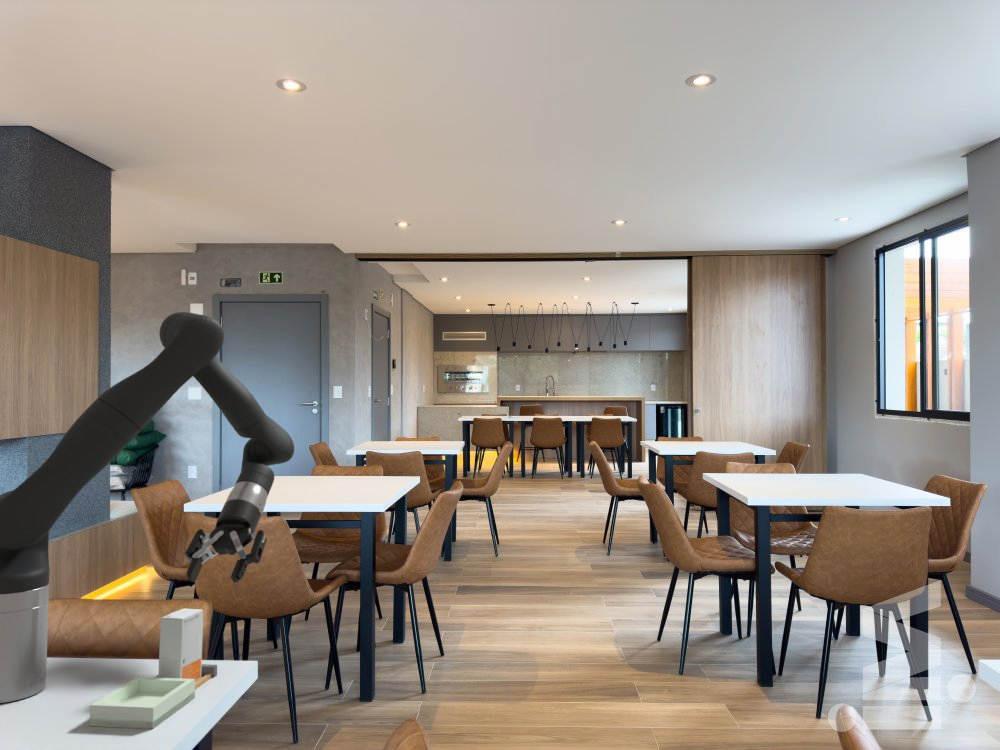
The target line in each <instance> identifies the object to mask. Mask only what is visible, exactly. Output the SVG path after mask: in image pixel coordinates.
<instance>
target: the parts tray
mask: <svg viewBox="0 0 1000 750" xmlns="http://www.w3.org/2000/svg"><path fill="white" fill-rule="evenodd" d="M195 696H196V689H195V679H183V678H156V676H154V677H153V676H136V677H135V678H133V679H132V680H130V681H128V682H127V683H125V684H123V685H121V686H120V687H118V688H116V689H115V690H113V691H112V692H109V693H107V695H105V696H102V697H101V698H99V699H98V700H97V701H95V702H93V703H91V704H90V706H89V708H90V709H89V726H90V727H105V728H107V727H109V728H126V729H128V728H129V729H131V728H132V729H148V730H149V729H151V730H153V729H154V728H156V727H158V726H159V725H160V724H161V722H162V723H163V722H164V721H165V719H166V720H167V719H168V718H170V717H171V716H173V714H175V713H176V712H178V711H180V710H181V709H182V708H183V707H184V706H186V705H187V704H188V703H190V702H191V701H193V700H194V699H195V698H196V697H195ZM169 716H170V717H169ZM158 724H159V725H158Z"/></svg>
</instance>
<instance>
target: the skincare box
mask: <svg viewBox="0 0 1000 750" xmlns="http://www.w3.org/2000/svg"><path fill="white" fill-rule="evenodd" d="M159 623H160V624H159V625H160V626H159V649H158V650H159V651H158V652H159V653H158V654H159V655H158V656H159V657H158V674H157V675H158V678H183V679H195V682H196V681H198V680H199V679H201V678H202V677H201V669H202V664H203V631H204V630H203V629H204V628H203V627H204V625H203V624H204V609H200V608H198V609H197V608H185V607H184V608H181V609H179V610H176V611H173V612H171V613H169V614H166V615H164V616H162V617H160V621H159Z"/></svg>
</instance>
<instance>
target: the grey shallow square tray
mask: <svg viewBox="0 0 1000 750" xmlns="http://www.w3.org/2000/svg"><path fill="white" fill-rule="evenodd" d="M158 675H159V674H157V675H155V677H156V678H158ZM217 676H218V664H207V663H206V664H205V663H204V664H203V663H202V669H201V679H199V680H198V681H196V682H195V690H196V689H197V688H199V687H200V686H202V685H203V684H205V683H206V682H207V681H209V680H210V679H211V678H215V677H217Z"/></svg>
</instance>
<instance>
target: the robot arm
mask: <svg viewBox="0 0 1000 750" xmlns="http://www.w3.org/2000/svg"><path fill="white" fill-rule="evenodd" d="M159 339H160V340H159V341H160V343H161V345H162V347H163V350H161V352H160V353H159V354H158V355H157V356H156V357H155V358H154V359H153V360H152V361H151V362H150V363H148V364H147V365H145V366H144V367H143V368H141V369H140V370H138V371H136V372H134V373H133V374H131V375H129V376H127V377H125V378H124V379H122V380H120V381H119V382H117V383H116V384H114V385H112V386H110V387H109V388H108V389H106V390H105V391H104V392H102V394H100V395H99V396H98V397H97V399H95V400H94V401H93V402H92V403H91V404H90V405H89V406H88V407H87V408H86V409H85V410H84V411H83V412H82V413H81V414H80V416H78V418H77V419H75V421H74V423H73V424H72V425H71V426H70V428H69V429H68V430H67V431H66V433H65V434H64V435H63V437H62V438H61V440H60V441H59V442H58V443H57V445H56V446H55V448H54V450H53V451H52V452H51V454H50V456H49V457H48V458H46V460H45V461H44V462H43V464H41V465H40V467H38V468H37V470H35V471H34V472H33V473H32V474H30V476H29V477H27V478H26V479H25V480H24V481H22V482H21V484H19V485H18V486H17V487H16V488H14V489H13V490H10V491H7V492H4V493H2V494H0V704H2V703H10V702H15V701H19V700H22V699H26V698H29V697H31V696H34V695H37V694H38V693H40V692H42V691H43V690H44V689H45V688H46V687H47V661H48V659H47V657H48V632H49V631H48V627H49V626H48V624H49V596H50V595H49V594H50V592H49V591H50V590H49V589H50V562H49V561H50V560H49V558H50V557H49V538H50V537H49V531H50V530H51V529H52V528H53V526H54V525H55V524H56V522H57V521H58V520H59V518H60V517H61V515H62V514H63V513H64V511H65V510H66V509H67V508H68V507H69V505H70V504H71V502H73V501H74V499H75V497H77V495H78V494H79V493H80V492H81V490H82V489H83V488H84V487H85V486H86V485H87V484H88V483H89V482H90V481H92V479H93V478H95V477H96V475H98V474H99V473H101V471H102V470H104V469H105V468H106V467H107V466H108V465H109V464H110V463H111V462H112V461H113V460H114V459H115V458H116V457H117V456H118V455H119V454H120V453H121V452H122V451H123V450H124V449H126V447H127V446H128V445H129V444H130V443H131V442H132V441H133V440H134V439H135V438H136V437H137V436H138V434H140V433H141V431H142V430H143V429H144V427H145V426H146V425H147V424H148V423H149V422H150V421H151V420H152V418H154V416H155V415H156V414H157V413H159V411H160V410H161V409H162V408H163V407H164V406H165V405H167V402H169V400H171V398H172V397H173V396H174V394H176V393H177V392H178V391H179V389H181V388H182V387H183V386H184V385H185V384H186V383H187V382H189V380H190V379H191V378H194V379H195V380H196V381H197V382H198V383H199V385H200V386H201V387H202V388H203V389H204V390H205V392H206V393H207V395H208V396H209V397H210V398H211V399H212V401H213V402H214V404H215V405H216V406H217V407H218V409H219V411H220V412H221V413H222V414H223V416H224V417H225V419H226V420H227V421H228V423H229V424H230V425H231V427H232V428H233V429H234V431H235V432H236V433H237V435H238V436H239V437H241V438H244V439H245V438H246V439H249V440H247V442H246V443H245V445H244V447H243V451H242V458H241V459H242V461H241V469H240V474H239V475H238V477H237V480H236V482H235V484H234V486H233V488H232V489H231V491H230V492H229V494H228V495H227V498H226V501H225V502H224V504H223V507H222V509H221V511H220V514H219V515H218V517H217V520H216V524H215V527H214V529H213V530H212V531H211V532H206V531H204V530H203V529H201V528H200V529H197V531H196V532H195V534H194V536H193V538H192V540H191V541H190V543H189V545H188V547H187V549H186V550H185V552H184V555H185V556H186V557H187V559H188V560H189V562H190V564H189V567H188V569H186V570H187V571H186V576H187V579H189V582H192V583H193V582H196V581H197V578H198V576H199V574H200V572H201V570H202V568H203V564H204V563H205V562H207V561H208V560H209V559H210V560H211V559H215V557H217V555H219V556H223V555H230V556H235V554H238V557H239V559H237V560H236V562H235V565H234V568H233V570H232V572H231V575H230V579H231V580H232V582H233V583H240V580H241V581H242V579H243V578H244V577H245V576H244V575H245V572H246V570H247V567H249V565H250V564H253V563H254V564H259V563H260V562H261V560H262V556H263V553H264V551H265V547H266V543H267V541H268V538H267V535H266V534H265V532H264V531H263V529H260V530H258V531H257V532H256V529H257V526H258V524H259V521H260V519H261V517H262V514H263V513H264V510H265V506H266V503H267V500H268V496H269V494H270V491H271V489H272V487H273V485H274V481H275V473H274V471H273V469H272V468H271V467H269V466H274V465H279V464H280V465H281V464H285V463H287V462H289V461H291V459H292V458H293V457H294V454H295V444H294V441H293V439H292V437H291V435H290V434H289V433H288V432H287V431H286V429H284V428H283V427H282V426H281V425H280V424H278V422H276V421H275V420H274V419H273V418H271V417H270V416H269V415H267V414H266V413H265V411H264V410H263V408H262V407H261V405H260V404H259V402H258V400H257V399H256V398H255V397H254V395H253V394H252V393H251V392H250V390H249V389H248V388H247V387H246V386H245V385H244V384H243V383H242V382H241V381H240V380H239V379H238V378H237V377H236V376H235V375H234V374H233V373H232V372H231V371H230V370H229V369H228V368H227V367H226V366H225V365H224V364H223V362H222V361H221V359H220V358H219V357H218V356H217V355H218V354H219V352H220V351H221V349H222V347H223V344H224V341H225V340H224V339H225V332H224V329H223V326H222V325H221V323H220V322H219V321H218V320H216V319H215V318H213V317H210V316H208V315H203V314H198V313H193V312H187V311H180V312H174V313H172V314H169V315H167V317H166V318H165V319H164V320H163V321H162V322H161V325H160V327H159ZM252 541H253V543H252ZM250 543H252V546H251V550H250V552H249V553H247V551H246V549H245V547H246V546H248V545H249V544H250ZM211 547H212V548H213V550H211Z"/></svg>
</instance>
